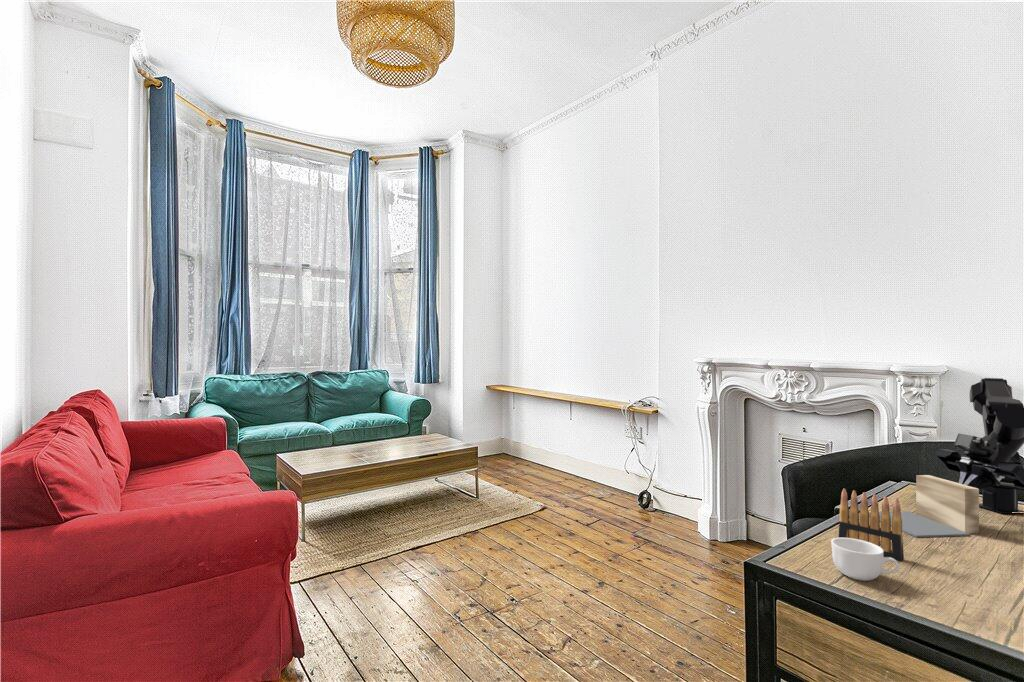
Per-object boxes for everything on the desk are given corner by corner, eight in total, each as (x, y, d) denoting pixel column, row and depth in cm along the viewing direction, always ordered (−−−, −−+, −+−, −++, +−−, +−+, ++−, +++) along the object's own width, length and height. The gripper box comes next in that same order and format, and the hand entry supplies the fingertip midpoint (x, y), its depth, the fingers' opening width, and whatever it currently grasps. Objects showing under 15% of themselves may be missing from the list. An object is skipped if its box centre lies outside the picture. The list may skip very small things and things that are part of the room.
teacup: (828, 576, 89) (828, 546, 89) (833, 562, 95) (833, 534, 95) (899, 594, 83) (899, 561, 83) (899, 577, 89) (899, 547, 89)
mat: (909, 513, 124) (909, 511, 124) (970, 535, 109) (969, 534, 109) (861, 514, 123) (861, 512, 123) (916, 537, 108) (916, 535, 108)
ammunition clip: (837, 545, 103) (837, 488, 103) (840, 543, 104) (840, 486, 104) (902, 562, 95) (902, 500, 95) (903, 559, 96) (903, 498, 97)
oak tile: (929, 515, 123) (928, 475, 123) (979, 533, 111) (978, 488, 111) (916, 515, 123) (916, 475, 123) (965, 533, 111) (964, 489, 111)
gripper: (941, 417, 127) (902, 460, 126) (1023, 429, 108) (979, 480, 107) (968, 447, 128) (930, 491, 126) (1055, 464, 109) (1011, 515, 108)
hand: (959, 493), depth 117 cm, fingers closed
